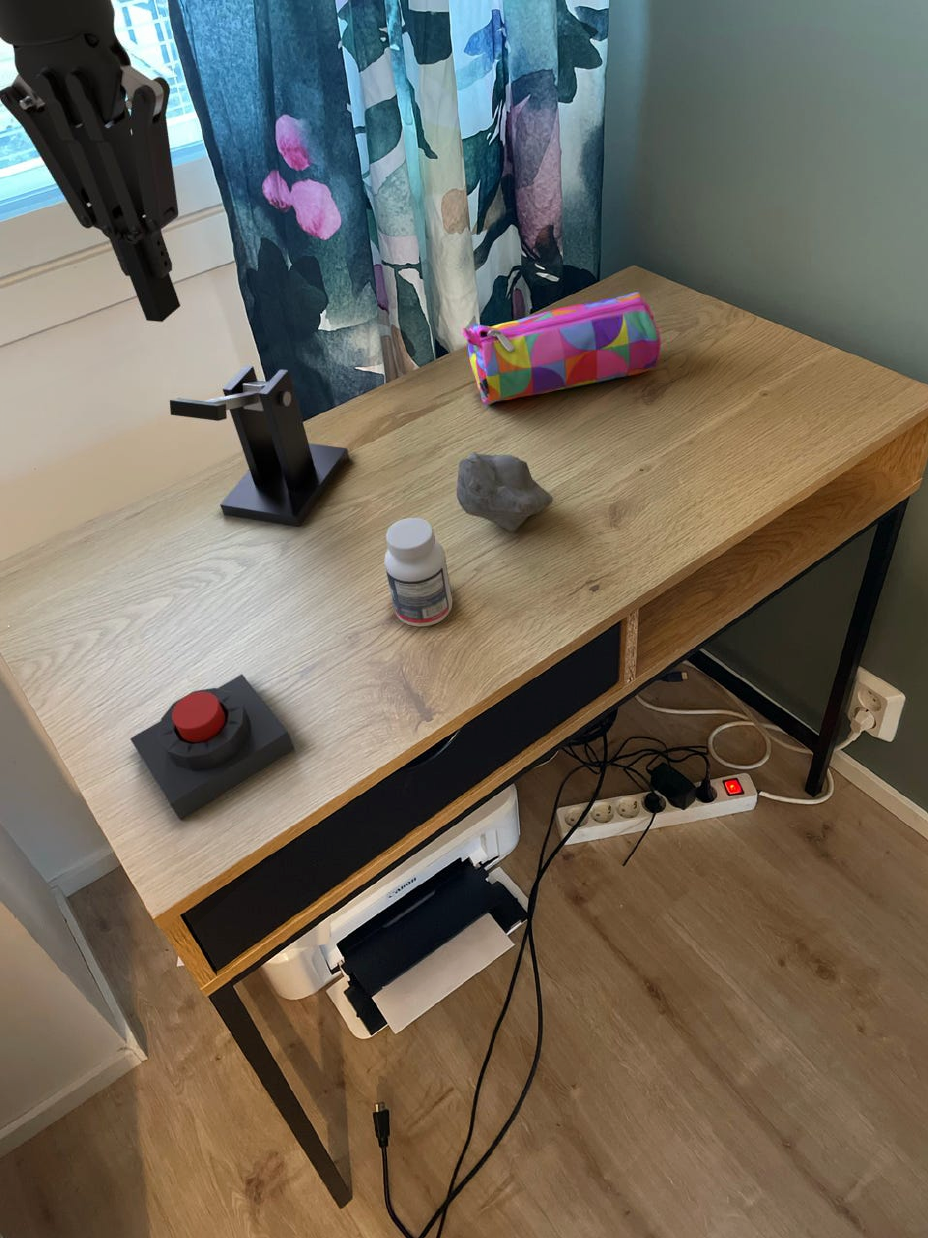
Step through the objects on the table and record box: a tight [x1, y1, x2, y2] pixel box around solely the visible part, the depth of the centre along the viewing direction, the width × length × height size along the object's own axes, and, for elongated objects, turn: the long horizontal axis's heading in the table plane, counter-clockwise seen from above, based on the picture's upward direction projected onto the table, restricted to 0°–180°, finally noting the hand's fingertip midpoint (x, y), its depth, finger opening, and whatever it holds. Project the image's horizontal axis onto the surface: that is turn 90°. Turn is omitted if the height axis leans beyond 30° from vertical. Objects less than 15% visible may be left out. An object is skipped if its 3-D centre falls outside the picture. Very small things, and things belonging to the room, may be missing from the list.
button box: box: [129, 673, 296, 821], centre depth 70 cm, size 10×8×4 cm
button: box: [172, 692, 225, 742], centre depth 68 cm, size 4×4×2 cm
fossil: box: [456, 451, 554, 532], centre depth 85 cm, size 11×9×8 cm
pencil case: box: [461, 291, 662, 405], centre depth 101 cm, size 22×9×9 cm, turn 103°
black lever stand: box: [219, 365, 350, 528], centre depth 91 cm, size 12×9×13 cm
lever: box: [169, 380, 269, 422], centre depth 84 cm, size 12×5×2 cm, turn 159°
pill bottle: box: [384, 517, 453, 627], centre depth 77 cm, size 5×5×9 cm
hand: (163, 312), depth 73 cm, fingers closed
